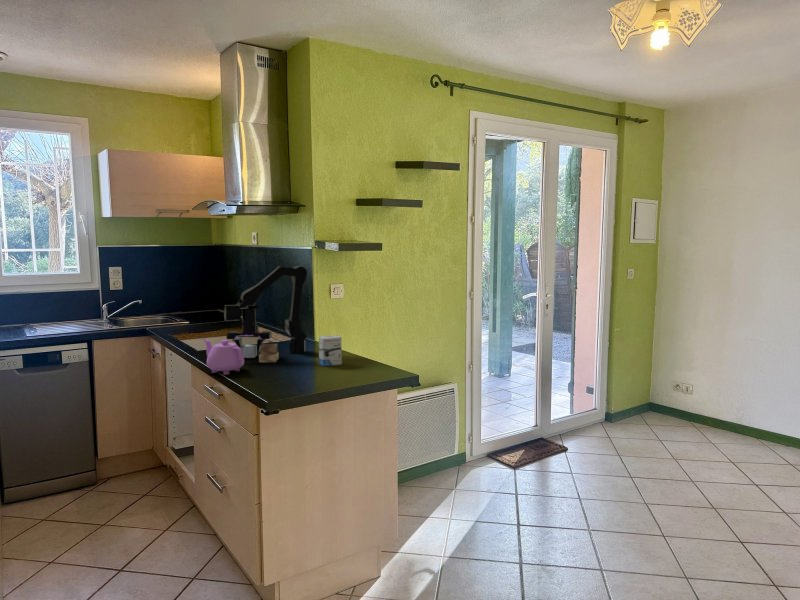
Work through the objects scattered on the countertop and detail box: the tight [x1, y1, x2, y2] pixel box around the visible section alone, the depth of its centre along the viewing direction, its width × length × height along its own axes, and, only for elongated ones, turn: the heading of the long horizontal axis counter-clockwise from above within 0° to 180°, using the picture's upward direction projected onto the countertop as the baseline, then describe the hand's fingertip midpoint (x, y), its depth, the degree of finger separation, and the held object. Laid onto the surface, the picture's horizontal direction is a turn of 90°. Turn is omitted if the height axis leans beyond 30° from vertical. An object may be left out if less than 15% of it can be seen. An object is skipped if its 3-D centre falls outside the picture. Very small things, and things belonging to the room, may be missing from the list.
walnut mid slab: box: [259, 343, 278, 355], centre depth 240 cm, size 6×6×4 cm
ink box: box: [318, 334, 343, 367], centre depth 233 cm, size 8×5×12 cm, turn 118°
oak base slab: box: [258, 350, 280, 363], centre depth 240 cm, size 7×7×4 cm
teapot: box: [203, 338, 245, 376], centre depth 220 cm, size 20×14×12 cm
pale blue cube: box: [242, 344, 258, 359], centre depth 247 cm, size 5×5×5 cm
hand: (249, 354), depth 248 cm, fingers open, 7 cm apart
